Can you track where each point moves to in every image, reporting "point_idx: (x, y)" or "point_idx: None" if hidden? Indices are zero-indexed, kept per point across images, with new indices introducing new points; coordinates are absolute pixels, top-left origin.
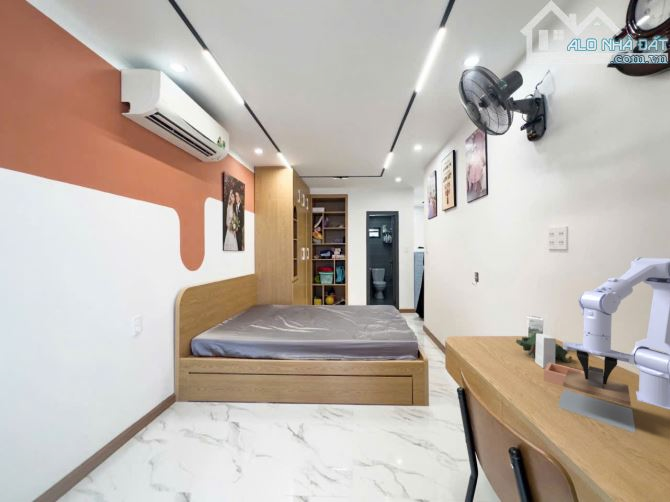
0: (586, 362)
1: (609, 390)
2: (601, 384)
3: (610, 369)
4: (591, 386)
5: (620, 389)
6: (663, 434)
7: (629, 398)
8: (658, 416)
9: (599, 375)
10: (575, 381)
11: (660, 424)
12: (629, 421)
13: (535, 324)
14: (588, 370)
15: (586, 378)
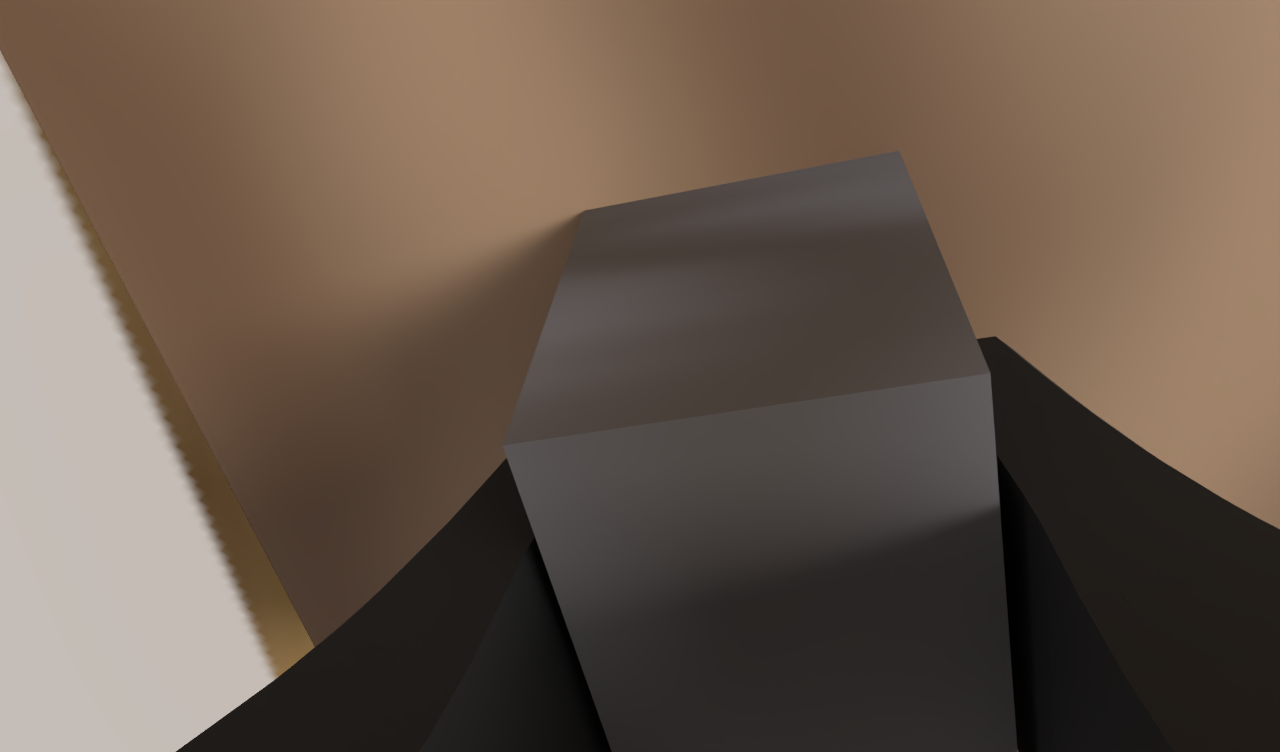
0: (1213, 703)
1: (467, 255)
2: (601, 258)
3: (238, 745)
4: (809, 111)
5: (381, 528)
6: (74, 203)
7: (62, 147)
8: (300, 639)
9: (623, 390)
10: (1210, 93)
11: (208, 459)
12: None
13: None
14: (991, 435)
15: (980, 347)
